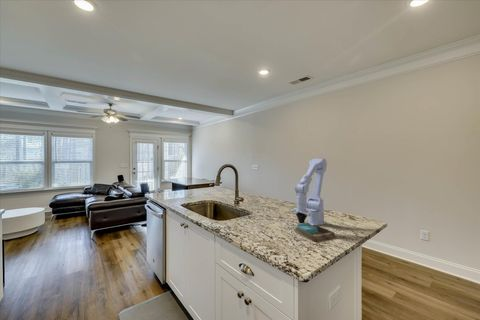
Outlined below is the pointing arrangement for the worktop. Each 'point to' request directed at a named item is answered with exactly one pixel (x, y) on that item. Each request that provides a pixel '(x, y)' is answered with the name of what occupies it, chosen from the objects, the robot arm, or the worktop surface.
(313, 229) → the teal flat block
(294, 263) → the worktop surface
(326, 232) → the dock
